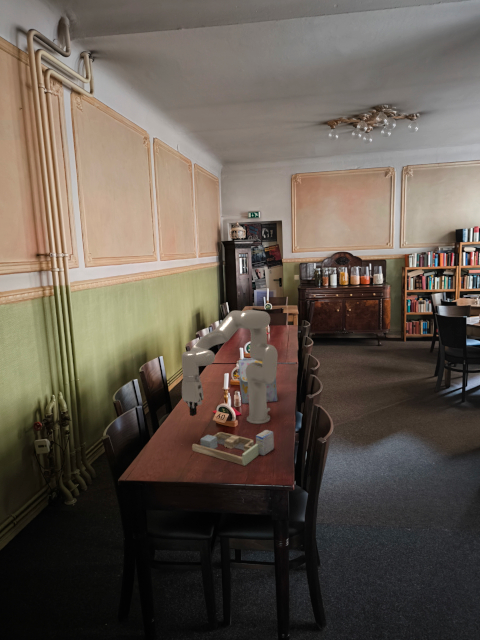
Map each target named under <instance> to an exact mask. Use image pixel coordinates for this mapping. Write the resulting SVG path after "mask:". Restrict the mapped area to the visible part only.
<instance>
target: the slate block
mask: <svg viewBox="0 0 480 640" xmlns="http://www.w3.org/2000/svg"><path fill="white" fill-rule="evenodd" d="M200 445H201V446H204V447H208V448H212V449H215V450H216V449H217V448H218V443H217V437H215V436H214V435H210V434H206V435H204V436H203V437H201V438H200Z"/></svg>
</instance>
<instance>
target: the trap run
mask: <svg viewBox="0 0 480 640" xmlns="http://www.w3.org/2000/svg"><path fill="white" fill-rule="evenodd" d="M213 436H215V437H217V441H218V440H219V439H224V440H225V441H224V445H223V446H224V448H226V447H227V448H228V449H230V450H232V449H234V447H235V446H236V445H238V444H239V443H240V444H244V445H245V446H244V450H243V453H244V452H246V451H247V450H248V449H250V448H251V447H252V446H254V445H255V442H254V441H255V440H254V439H251V438H247V437H244V436H241V435H240V436H239V435H235V434H231V433H226V432H223V431H220V432H217V433H215V434H214V435H213ZM191 448H192V451H193V452H196V453H200V454H203V455H206V456H209V457H214V458H216V459H221V460H224V461H228V462H231V463H234V464H237V465H241V466H244V465H243V462H242V455H241V456H239V455H236V454H233V453H231V452H230V453H229V452H225V451H222V450H218V449H216V448H215V449H212V448H208V447H204V446H201V444H197V443H193V444H192V446H191ZM227 448H226V449H227Z"/></svg>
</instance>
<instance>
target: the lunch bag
mask: <svg viewBox="0 0 480 640" xmlns="http://www.w3.org/2000/svg"><path fill="white" fill-rule="evenodd" d="M252 362H257V363H261V364H262V361H258V360H255V359H252V358H251V357H250V358H247V357H242V359H239V360H238V363H237V364H238V368H239V380H238V381H239V388H240V397H241V402H242V403H241V404H249V391H248V381H247V377H246V368H247V366H248V365H249V364H250V363H252ZM265 385H266V400H267V402H268V403H269V402H270V403H271V402H278V393H277V392H278V391H277V390H278V389H277V376H276V377H275V380H274V381H273V382H272V383H271V384H265Z"/></svg>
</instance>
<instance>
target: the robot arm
mask: <svg viewBox="0 0 480 640" xmlns="http://www.w3.org/2000/svg"><path fill="white" fill-rule="evenodd" d="M270 323H271V316H270V314H269V313H268V312H267V311H263V310H262V311H261V310H256V309H246V310H232V311H230V312H229V313H227V315H226V316H225V318H224V319H223V320H222V321H221V322H220V324H218V325H217V327H216V328H215V329H214V330H212V331H210V332H208V333H206V335H203V336H202V337H200V338H199V339H198V340H196V342H195V344H194V345H193V346H192V347H191V348H190V350H189V351H185V352H183V353H182V354H181V366H182V367H181V368H182V381H181V382H182V383H181V397H182V401H183V402H184V403H185V404H187V407H188V408H189V416H191V417H194V416H196V415H197V413H198V411H197V407H198V406H201V405H203V400H204V399H205V398H204V389H203V384H202V381H201V377H200V372H199V371H200V370H199V367H202V366H203V367H204V366H210V365H212V364H213V363H214V362H215V360H216V355H215V352H214V351H212V350H210V349H211V348H212V347H214V346H216V345H220V344H224V343H228V341H229V340H230V339H231V338H232V337H233V336H234V334H235V333H236V332H237V331H238V330H239V329H244V330H249V332H250V345H249V355H250V358H252V359H255V360H258V361H262V364H261V363H257V362H252V363H250V364H249V365H248V366H247V368H246V377H247V381H248V391H249V403H248V409H249V410H248V411H249V415H247V417H246V421H247V422H248V423H250V424H254V425H255V424H257V425H260V424H261V425H262V424H266V423H268V422H269V421H270V420H271V416H270V415H269V414H268V412H270V411H271V408H270V407H268V406H267V405H268V404H267V400H266V385H265V384H271V383H272V382H273V381H274V380H275V377H276V378H277V369H278V357H279V356H278V350H277V348H276V347H275V345H272V344H268V341H267V339H268V333H267V327H268V326H269V325H270Z"/></svg>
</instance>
